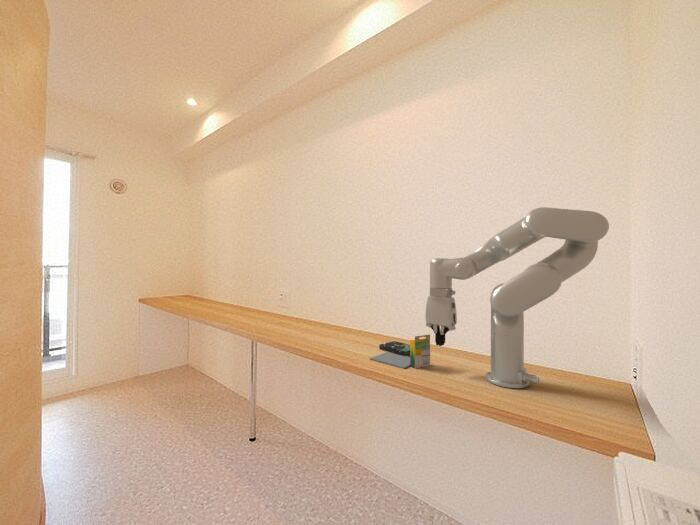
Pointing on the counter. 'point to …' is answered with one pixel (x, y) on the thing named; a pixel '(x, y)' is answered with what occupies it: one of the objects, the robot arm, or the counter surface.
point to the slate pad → (393, 360)
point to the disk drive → (396, 348)
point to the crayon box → (420, 351)
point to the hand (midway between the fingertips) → (440, 344)
